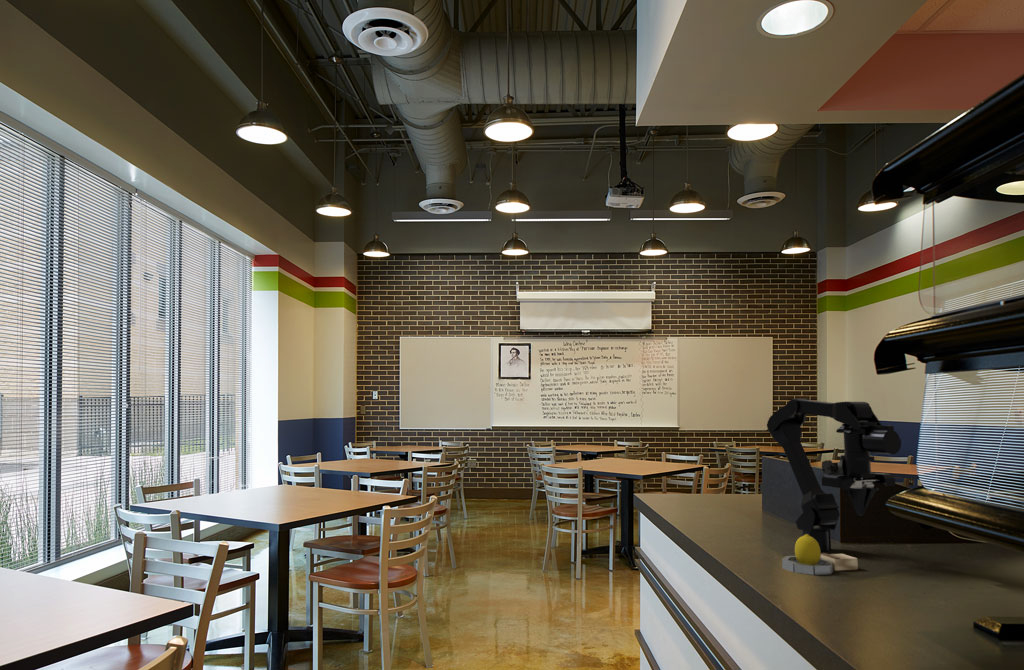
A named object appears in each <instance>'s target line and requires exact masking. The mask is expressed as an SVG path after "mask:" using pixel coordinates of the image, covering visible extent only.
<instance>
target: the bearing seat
mask: <svg viewBox="0 0 1024 670" xmlns="http://www.w3.org/2000/svg"><path fill="white" fill-rule="evenodd" d="M781 565H782V567H781V568H782V569H783V570H787V571H789V572H792V573H795V574H802V575H803V574H804V575H809V576H811V575H812V576H820V575H821V576H823V575H832V573H834V570H833V562H832V561H829V560H826V559H823V558H821V557H820V560H819V562H818V564H817V565H809V564H801V563H799V562H798V561H797V559H796V556H795V555H786V556H784V557H783V558H782V559H781Z"/></svg>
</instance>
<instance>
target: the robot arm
mask: <svg viewBox="0 0 1024 670" xmlns="http://www.w3.org/2000/svg"><path fill="white" fill-rule="evenodd" d="M807 415H813V416H820V417H827V418H831V419H833V420H834V421H836V422H838V423H842V424H841V425H840V427H838V428H836V430H835V432H836V433H838V434H843V447H844V448H843V449H844V451H843V452H844V455H843V454H842V455H840V456H839V461H838V462H837V461H836V462H833V461H832V460H831V459H830V460H829V459H828V460H826V459H825V460H823V461H821V470H822V473H823V476H821V484H820V483H819V481H818V478H817V476H816V474H815V472H814V469H813V466H812V465H811V462H810V460H809V458H808V456H807V454H806V452H805V448H804V447H803V444H802V443H801V439H802V431H803V430H802V428H801V426H802V425H804V423H805V422H806V418H807ZM766 428H767V430H768V432H769V434H770V435H771V438H772V440H774V441H775V442H776V443H777V444H779V445H780V446H781V447H782V449H783V451H784V453H785V456H786V459H787V461H788V463H789V466H790V467H791V470H792V472H793V473H792V474H793V475H794V477H795V479H796V481H797V485H798V486H799V489H800V491H801V494H802V498H801V506H800V507H801V508H802V513H801V514H800V515H799V517H798V518H797V519H796V520H795V525H796V528H797V530H800V531H802V534H801V536H800V537H802V536H804V535H805V534H808V535H809V536H811V537H813V538H814V539H815V540H816V541H817V542H818V544H819V547H820V552H821V553H826V552H829V551H832V539H831V535H832V534H831V531H835V530H836V528H837V524H838V521H839V517H840V516H841V515H840V510H839V509H840V506H839V505H838V504H837V502H836V498H835V496H834V494H833V493H832V492H829V493H828V492H827V493H826V492H825V491H824V490H823V489H822V487H821V486H824V487H829V488H830V487H831V488H837V489H841V490H843V491H845V493H846V494H847V495H848V498H849V499H850V501H851V503H852V506H853V509H854V512H855V513H856V515H857V516H859V517H861V516H864V514H865V513H866V510H867V508H868V507H869V504H870V502H871V500H872V499H873V497H874V495H875V493H876V491H879V487H877V486H875V484H879V485H885V486H886V487H891V486H892V487H893V486H894V487H895V486H896V477H895V476H894V475H893V474H891V473H886V472H885V473H884V472H872V467H871V465H872V464H871V462H873V461H874V462H875V456H871V454H882V455H883V454H884V455H896V454H898V452H899V451H900V449H901V446H902V439H901V438H900V436H899V433H897V432H896V431H895V427H894V425H889V424H888V425H883V424H882V423H881V421H880V420H879V418H878V417H877V415H876V414H875V412H874V411H873V409H872V407H871V406H870V403H868V402H866V401H838V402H827V401H820V400H811V399H807V398H792V399H790V400H789V401H788V402H787V403H786V404H785V405H784V406H782V407H781V408H779V409H778V410H776V411H775V412H774V413H773V414H771V416H770V417H768V420H767V423H766Z"/></svg>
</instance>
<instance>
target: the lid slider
mask: <svg viewBox="0 0 1024 670" xmlns="http://www.w3.org/2000/svg"><path fill="white" fill-rule="evenodd" d="M820 558H823V559H826V560H829V561H832V562H833V571H836V572H837V571H855V570H858V569H859V567H858V565H859V564H858V563H859V562H858V558H857V557H854V556H850V555H847V554H845V553H831V554H829V553H826V552H821V556H820Z"/></svg>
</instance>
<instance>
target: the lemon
mask: <svg viewBox="0 0 1024 670" xmlns="http://www.w3.org/2000/svg"><path fill="white" fill-rule="evenodd" d="M801 536H802V535H801ZM801 536H800V537H798V538H797V540H796V542H795V544H794V556H796V559H797V561H798V562H799V563H801V564H809V565H817V564H818V562H819V560H820V558H821V553H822V552H820V547H819V544H818V542H817V541H816V540H815V539H814V538H813V537H811V536H809V535H808V534H805V535H804V536H802V537H801Z"/></svg>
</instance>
